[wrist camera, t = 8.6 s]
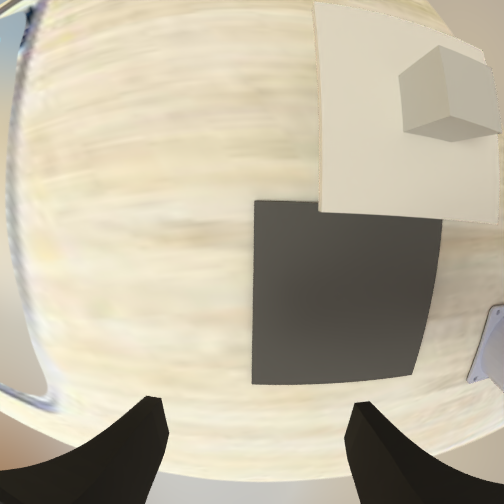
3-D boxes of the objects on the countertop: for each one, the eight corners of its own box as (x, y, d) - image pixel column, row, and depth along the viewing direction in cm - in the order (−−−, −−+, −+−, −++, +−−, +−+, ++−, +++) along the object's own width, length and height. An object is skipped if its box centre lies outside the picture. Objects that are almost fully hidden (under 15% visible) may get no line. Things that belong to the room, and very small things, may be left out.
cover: (475, 53, 10) (520, 31, 6) (489, 222, 13) (545, 236, 8) (311, 9, 11) (327, -47, 6) (318, 210, 13) (347, 222, 8)
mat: (440, 211, 17) (442, 212, 17) (409, 372, 20) (411, 374, 19) (254, 201, 18) (254, 201, 17) (252, 381, 20) (251, 384, 20)
